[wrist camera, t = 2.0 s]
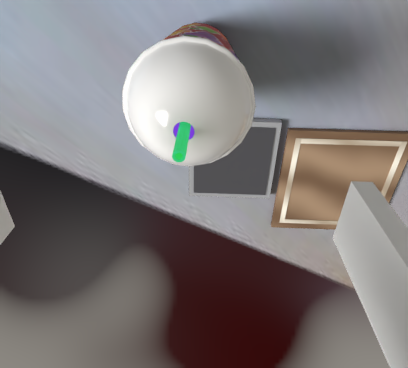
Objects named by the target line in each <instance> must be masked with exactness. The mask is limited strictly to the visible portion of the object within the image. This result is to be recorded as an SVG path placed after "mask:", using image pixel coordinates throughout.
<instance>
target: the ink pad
mask: <svg viewBox="0 0 408 368" xmlns="http://www.w3.org/2000/svg"><path fill="white" fill-rule="evenodd" d="M281 126H282V122H281V119H257V118H253V121H252V125H251V128H250V129H249V131H248V133H247V134H246V136H245V138H244V139H243V141H242V143H241V144H240V145H238V146H237V147H236V148H235V149H234V150H233V151H232V152H230V153H229V154H228V155H227V156H225V157H223V158H220V159H218V160H216V161H214V162H212V163H208V164H204V165H197V166H189V196H211V197H240V198H270V192H271V186H272V180H273V174H274V168H275V162H276V156H277V150H278V144H279V138H280V132H281Z"/></svg>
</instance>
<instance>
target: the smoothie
mask: <svg viewBox="0 0 408 368" xmlns="http://www.w3.org/2000/svg"><path fill="white" fill-rule="evenodd" d="M122 92H123V112H124V115H125V117H126V120H127V123H128V126H129V129H130V130H131V131H132V133H133V134H134V136H135V137H136V138H137V140H138V141H139V143H140V144H141V145H142V146H144V147H145V148H146V149H147V150H149V151H150V152H151V153H153V154H154V155H155V156H156V157H158V158H159V159H162V160H164V161H166V162H169V163H171V164H174V165H181V166H197V165H204V164H208V163H212V162H214V161H216V160H218V159H220V158H223V157H225V156H227V155H228V154H229V153H230V152H232V151H233V150H234V149H235V148H236V147H237V146H238V145H240V144H241V143H242V141H243V139H244V138H245V136H246V134H247V133H248V131H249V129H250V128H251V125H252V121H253V116H254V112H255V107H256V105H255V96H254V88H253V84H252V82H251V80H250V78H249V76H248V73H247V71H246V69H245V67H244V65H243V64H242V63H241V62H240V61H239V59H238V58H237V56H236V54H235V52H234V51H233V49H232V47H231V46H230V44H229V42H228V40H227V38H226V37H225V36H224V35H223V34H222V33H221V32H220V31H219V30H218V29H216V28H214V27H212V26H210V25H208V24H201V23H192V24H188V25H184V26H182V27H181V28H179V29H178V30H176V31H175V32H173V33H172V34H171V35H169V36H168V37H166V38H165V39H163V40H161V41H159V42H158V43H156V44H154V45H153V46H151V47H150V48H148V49H147V50H145V51H143V52H142V53H141V54H140V56H139V57H138V58H137V59H136V61H135V62H134V63H133V65H132V66H131V67H130V68H129V70H128V73H127V77H126V80H125V83H124V86H123V89H122Z"/></svg>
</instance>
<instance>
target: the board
mask: <svg viewBox="0 0 408 368" xmlns="http://www.w3.org/2000/svg"><path fill="white" fill-rule="evenodd" d="M407 160H408V132H404V131H371V130H338V129H305V128H288V131H287V137H286V143H285V148H284V154H283V159H282V165H281V171H280V176H279V182H278V187H277V193H276V199H275V204H274V210H273V216H272V221H271V227H283V228H311V229H336V226H337V223H338V220H339V217H340V214H341V211H342V208H343V205H344V202H345V199H346V196H347V193H348V190H349V187H350V184H351V181H358V182H373V183H374V184H375V186H376V187H377V188H378V190H379V191H380V192H381V194H382V195H383V196H384V198H385V199H386V200H387V202H388V203H389V202H390V200H391V197H392V195H393V193H394V190H395V188H396V186H397V183H398V181H399V179H400V176H401V174H402V172H403V169H404V167H405V165H406V162H407Z"/></svg>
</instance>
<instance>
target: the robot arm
mask: <svg viewBox="0 0 408 368" xmlns="http://www.w3.org/2000/svg"><path fill="white" fill-rule="evenodd" d="M14 227H15V226H14V223H13V221H12V218H11V216H10V213H9V211H8V209H7V206H6V204H5V201H4V199H3V196H2V194H1V191H0V244H1V243H2V242H3V240H4V239H5V238H6V237H7V235H8V234H9V233H10V232H11V230H12V229H13V228H14ZM333 240H334V242H335V244H336V247H337V249H338V251H339V253H340V256H341V258H342V260H343V262H344V265H345V267H346V269H347V271H348V274H349V276H350V278H351V280H352V283H353V285H354V287H355V290H356V292H357V294H358V296H359V298H360V301H361V303H362V305H363V307H364V310H365V312H366V314H367V317H368V319H369V321H370V323H371V325H372V328H373V330H374V332H375V335H376V337H377V339H378V341H379V344H380V346H381V348H382V351H383V353H384V355H385V357H386V359H387V362H388V364H389V366H390V368H408V228H407V227H406V225H405V224H404V223H403V222H402V220H401V219H400V218H399V216H398V215H397V214H396V212H395V211H394V210H393V208H392V207H391V206H390V204H389V203H388V202H387V200H386V199H385V198H384V196H383V195H382V194H381V192H380V191H379V190H378V188H377V187H376V186H375V184H374V183H373V182H358V181H351V184H350V187H349V190H348V193H347V196H346V199H345V202H344V205H343V208H342V211H341V214H340V217H339V220H338V223H337V226H336V229H335V232H334V236H333Z"/></svg>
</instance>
